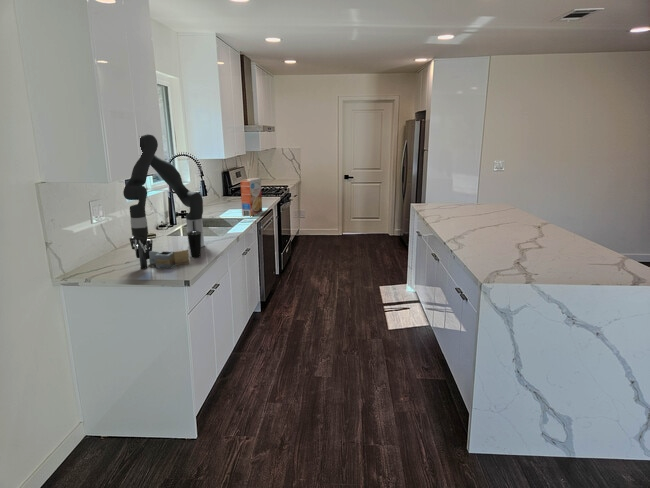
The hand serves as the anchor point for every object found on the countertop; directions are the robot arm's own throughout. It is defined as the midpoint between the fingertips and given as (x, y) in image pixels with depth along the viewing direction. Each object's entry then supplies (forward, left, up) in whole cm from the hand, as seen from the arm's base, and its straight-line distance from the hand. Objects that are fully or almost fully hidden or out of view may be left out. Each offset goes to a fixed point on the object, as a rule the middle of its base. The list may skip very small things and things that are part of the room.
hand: (143, 258), depth 215 cm
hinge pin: (0, 0, -5) cm, 5 cm away
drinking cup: (-23, +18, -5) cm, 30 cm away
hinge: (-6, +9, -5) cm, 12 cm away
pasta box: (-155, +13, -5) cm, 156 cm away
